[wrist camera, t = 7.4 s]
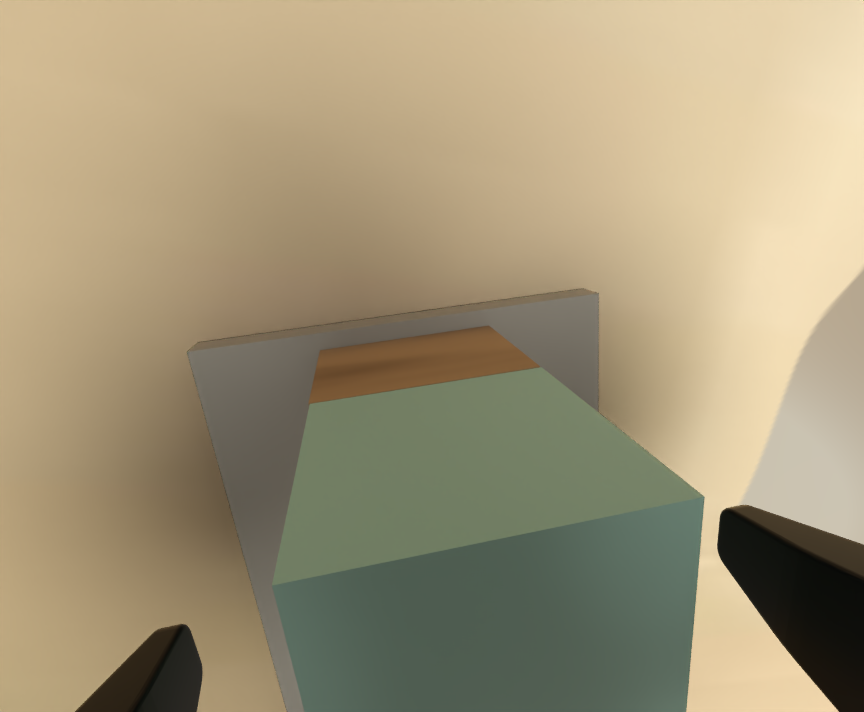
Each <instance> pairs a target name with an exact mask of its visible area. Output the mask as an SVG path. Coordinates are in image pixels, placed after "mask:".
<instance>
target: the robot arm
mask: <svg viewBox="0 0 864 712" xmlns="http://www.w3.org/2000/svg"><path fill="white" fill-rule="evenodd" d="M717 549H718V553H719V556H720V558H721V560H722V562H723V564H724V565H725V566H726V568H727V569H728V570H729V572H730V573H731V575H732V576H733V577H734V579H735V580H736V582H737V583H738V584H739V586H740V587H741V588H742V590H743V591H744V593H745V594H746V595H747V597H748V598H749V600H750V601H751V602H752V604H753V605H754V606H755V608H756V609H757V611H758V612H759V613H760V615H761V616H762V618H763V619H764V620H765V622H766V623H767V624H768V626H769V627H770V629H771V630H772V631H773V633H774V634H775V635H776V637H777V638H778V639H779V641H780V642H781V643H782V645H783V646H784V647H785V648H786V650H787V651H788V652H789V653H790V654H791V656H792V657H793V658H794V659H795V661H796V662H797V663H798V664H799V665H800V666H801V668H802V669H803V670H804V671H805V672H806V673H807V675H808V676H809V677H810V678H811V679H812V681H813V682H814V683H815V684H816V685H817V686H818V688H819V689H820V690H821V691H822V692H823V693H824V695H825V696H826V697H827V698H828V699H829V701H830V702H831V703H832V704H833V705H834V706H835V708H836V709H837V710H838V711H839V712H864V545H863V544H860V543H857V542H854V541H851V540H849V539H846V538H843V537H840V536H837V535H834V534H831V533H828V532H825V531H822V530H819V529H816V528H814V527H811V526H808V525H805V524H802V523H799V522H796V521H793V520H790V519H787V518H784V517H781V516H779V515H776V514H773V513H770V512H767V511H764V510H761V509H758V508H755V507H752V506H749V505H740V506H735V507H730V508H726V509H724V510H723V511H722V513H721V515H720V522H719V533H718V543H717ZM201 683H202V663H201V660H200V657H199V654H198V651H197V648H196V645H195V642H194V639H193V636H192V633H191V631H190V629H189V627H188V626H187V625H185V624H179V625H174V626H170V627H165V628H161V629H158V630H157V631H155V632H154V633H153V634H152V635H151V636H150V637H149V638H148V639H147V640H146V641H145V642H144V643H143V644H142V645H141V646H140V647H139V648H138V649H137V650H136V651H135V652H134V653H133V654H132V655H131V656H130V657H129V658H128V659H127V660H126V661H125V662H124V663H123V664H122V665H121V666H120V667H119V668H118V669H117V670H116V671H115V672H114V673H113V674H112V675H111V676H110V677H109V678H108V679H107V680H106V681H105V682H104V683H103V684H102V685H101V686H100V687H99V688H98V689H97V690H96V691H95V692H94V693H93V694H92V695H91V696H90V697H89V698H88V699H87V700H86V701H85V702H84V703H83V704H82V705H81V706H80V707H79V708H78V709H77V710H76V711H75V712H197V707H198V701H199V695H200V689H201Z"/></svg>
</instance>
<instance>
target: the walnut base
mask: <svg viewBox="0 0 864 712" xmlns="http://www.w3.org/2000/svg"><path fill="white" fill-rule="evenodd" d="M539 367H540V366H539V365H538V364H537V363H535V362H534V361H533V360H532V359H530V358H529V357H528V356H527V355H525V354H524V353H523V352H522V351H520V350H519V349H518V348H517V347H515V346H514V345H513V344H512V343H510V342H509V341H508V340H507V339H505V338H504V337H503V336H502V335H500V334H499V333H498V332H497V331H495V330H494V329H493V328H492V327H490V326H482V327H475V328H468V329H462V330H455V331H448V332H441V333H434V334H428V335H421V336H414V337H407V338H400V339H394V340H387V341H380V342H373V343H366V344H359V345H353V346H346V347H339V348H332V349H325V350H320V352H319V357H318V361H317V366H316V371H315V375H314V380H313V384H312V389H311V394H310V398H309V403H308V404H309V405H310V404H312V403H318V402H324V401H331V400H337V399H343V398H350V397H356V396H362V395H369V394H375V393H381V392H388V391H394V390H400V389H407V388H413V387H419V386H425V385H432V384H438V383H444V382H451V381H457V380H463V379H470V378H476V377H482V376H489V375H495V374H501V373H507V372H514V371H520V370H526V369H533V368H539Z"/></svg>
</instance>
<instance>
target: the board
mask: <svg viewBox="0 0 864 712" xmlns="http://www.w3.org/2000/svg"><path fill="white" fill-rule="evenodd" d="M482 326H490V327H492V328H493V329H494V330H495V331H497V332H498V333H499V334H500V335H502V336H503V337H504V338H505V339H507V340H508V341H509V342H510V343H512V344H513V345H514V346H515V347H517V348H518V349H519V350H520V351H522V352H523V353H524V354H525V355H527V356H528V357H529V358H530V359H532V360H533V361H534V362H535V363H537V364H538V365H539V366H540V367H542V368H543V369H545V370H546V371H547V372H548V373H550V374H551V375H552V376H553V377H555V378H556V379H557V380H558V381H560V382H561V383H562V384H563V385H565V386H566V387H567V388H568V389H570V390H571V391H572V392H573V393H575V394H576V395H577V396H578V397H580V398H581V399H582V400H583V401H585V402H586V403H587V404H588V405H590V406H591V407H592V408H594V409H595V410H596V411H597V412H598V332H599V293H596V292H593V291H590V290H586V289H576V290H569V291H562V292H555V293H547V294H540V295H533V296H526V297H519V298H512V299H505V300H497V301H490V302H483V303H476V304H469V305H462V306H455V307H448V308H440V309H433V310H426V311H419V312H412V313H405V314H398V315H391V316H383V317H376V318H369V319H362V320H355V321H348V322H341V323H333V324H326V325H319V326H312V327H305V328H298V329H291V330H284V331H276V332H269V333H262V334H255V335H248V336H241V337H234V338H226V339H219V340H212V341H205V342H198V343H197V344H196V345H194V346H193V347H192V348H191V349H190V350H189V351H187V354H188V358H189V361H190V365H191V369H192V372H193V376H194V379H195V383H196V387H197V390H198V394H199V397H200V401H201V405H202V408H203V412H204V415H205V419H206V423H207V426H208V430H209V433H210V437H211V441H212V444H213V448H214V451H215V455H216V459H217V462H218V466H219V469H220V473H221V476H222V480H223V484H224V487H225V491H226V494H227V498H228V502H229V505H230V509H231V512H232V516H233V520H234V523H235V527H236V530H237V534H238V538H239V541H240V545H241V548H242V552H243V556H244V559H245V563H246V566H247V570H248V574H249V577H250V581H251V584H252V588H253V592H254V595H255V599H256V602H257V606H258V610H259V613H260V617H261V620H262V624H263V628H264V631H265V635H266V638H267V642H268V646H269V649H270V653H271V656H272V660H273V664H274V667H275V671H276V674H277V678H278V682H279V685H280V689H281V692H282V696H283V700H284V703H285V707H286V710H287V712H304V708H303V704H302V700H301V696H300V692H299V689H298V685H297V681H296V677H295V673H294V669H293V665H292V661H291V658H290V654H289V650H288V646H287V642H286V638H285V634H284V631H283V627H282V623H281V619H280V615H279V611H278V607H277V603H276V600H275V596H274V592H273V588H272V582H273V578H274V573H275V568H276V563H277V558H278V554H279V549H280V544H281V539H282V534H283V530H284V525H285V520H286V515H287V511H288V506H289V501H290V496H291V491H292V487H293V482H294V477H295V472H296V467H297V463H298V458H299V453H300V448H301V443H302V439H303V434H304V429H305V424H306V419H307V415H308V410H309V404H308V403H309V398H310V394H311V389H312V384H313V380H314V375H315V371H316V366H317V361H318V357H319V352H320V350H325V349H332V348H339V347H346V346H353V345H359V344H366V343H373V342H380V341H387V340H394V339H400V338H407V337H414V336H421V335H428V334H434V333H441V332H448V331H455V330H462V329H468V328H475V327H482Z"/></svg>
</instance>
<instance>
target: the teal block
mask: <svg viewBox="0 0 864 712" xmlns="http://www.w3.org/2000/svg"><path fill="white" fill-rule="evenodd" d="M703 508H704V496H703V495H702V494H700V493H699V492H698V491H697V490H695V489H694V488H693V487H692V486H690V485H689V484H688V483H686V482H685V481H684V480H683V479H681V478H680V477H679V476H678V475H676V474H675V473H674V472H673V471H671V470H670V469H669V468H668V467H666V466H665V465H664V464H663V463H661V462H660V461H659V460H658V459H656V458H655V457H654V456H653V455H651V454H650V453H649V452H648V451H646V450H645V449H644V448H643V447H641V446H640V445H639V444H637V443H636V442H635V441H634V440H632V439H631V438H630V437H629V436H627V435H626V434H625V433H624V432H622V431H621V430H620V429H619V428H617V427H616V426H615V425H614V424H612V423H611V422H610V421H609V420H607V419H606V418H605V417H604V416H602V415H601V414H600V413H599V412H597V411H596V410H595V409H594V408H592V407H591V406H590V405H588V404H587V403H586V402H585V401H583V400H582V399H581V398H580V397H578V396H577V395H576V394H575V393H573V392H572V391H571V390H570V389H568V388H567V387H566V386H565V385H563V384H562V383H561V382H560V381H558V380H557V379H556V378H555V377H553V376H552V375H551V374H550V373H548V372H547V371H546V370H545V369H543V368H542V367H539V368H533V369H526V370H520V371H514V372H507V373H501V374H495V375H489V376H482V377H476V378H470V379H463V380H457V381H451V382H444V383H438V384H432V385H425V386H419V387H413V388H407V389H400V390H394V391H388V392H381V393H375V394H369V395H362V396H356V397H350V398H343V399H337V400H331V401H324V402H318V403H312V404H310V405H309V410H308V415H307V419H306V424H305V429H304V434H303V439H302V443H301V448H300V453H299V458H298V463H297V467H296V472H295V477H294V482H293V487H292V491H291V496H290V501H289V506H288V511H287V515H286V520H285V525H284V530H283V534H282V539H281V544H280V549H279V554H278V558H277V563H276V568H275V573H274V578H273V582H272V588H273V592H274V596H275V600H276V603H277V607H278V611H279V615H280V619H281V623H282V627H283V631H284V634H285V638H286V642H287V646H288V650H289V654H290V658H291V661H292V665H293V669H294V673H295V677H296V681H297V685H298V689H299V692H300V696H301V700H302V704H303V708H304V712H686V707H687V695H688V684H689V672H690V660H691V649H692V637H693V625H694V613H695V602H696V590H697V578H698V566H699V555H700V543H701V531H702V519H703Z"/></svg>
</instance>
